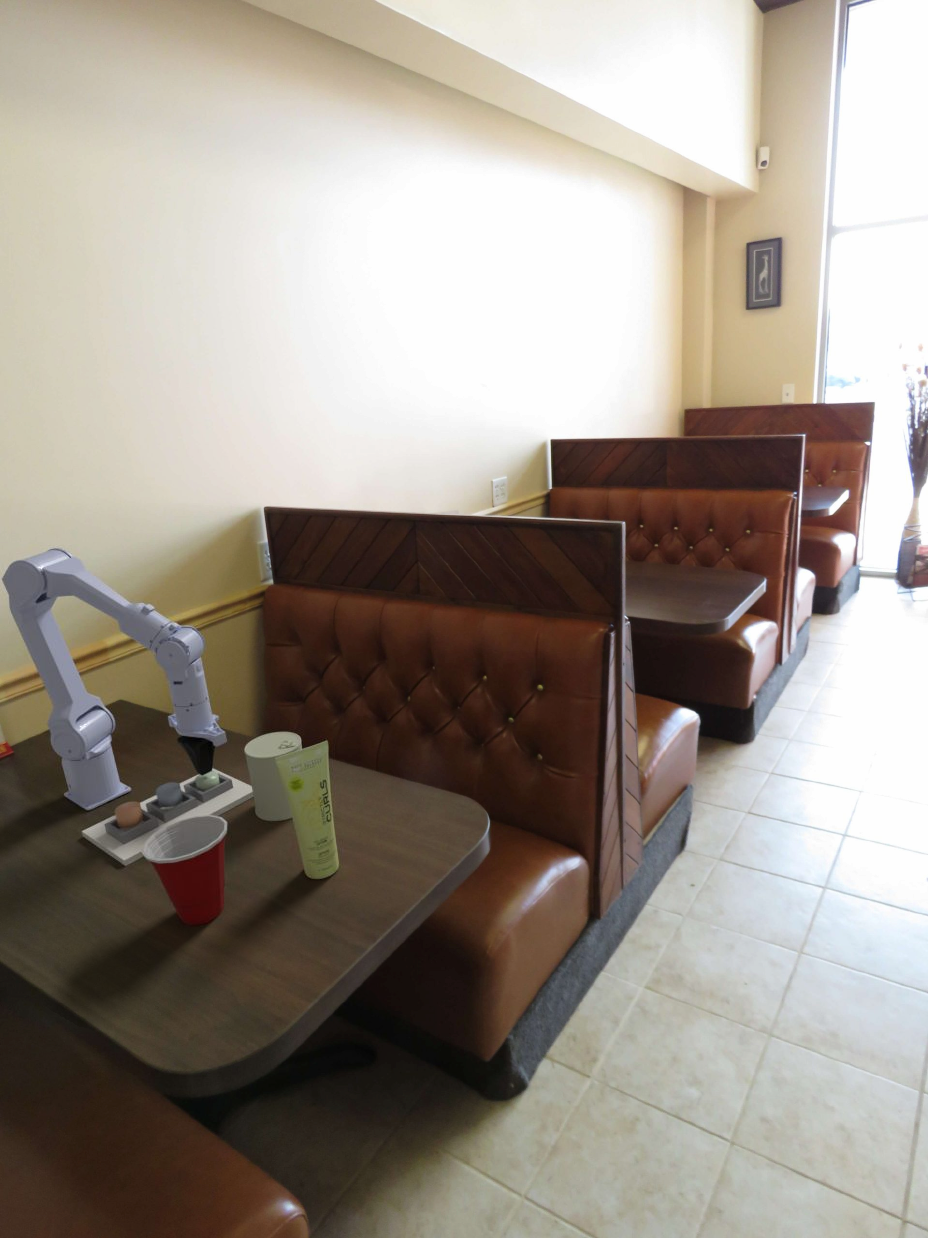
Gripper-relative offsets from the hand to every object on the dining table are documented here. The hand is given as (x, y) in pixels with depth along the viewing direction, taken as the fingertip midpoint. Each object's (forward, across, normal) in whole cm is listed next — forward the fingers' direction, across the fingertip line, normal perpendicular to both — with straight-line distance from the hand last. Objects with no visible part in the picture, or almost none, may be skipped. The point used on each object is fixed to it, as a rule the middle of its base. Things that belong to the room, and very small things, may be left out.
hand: (205, 772), depth 129 cm
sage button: (+3, 0, 0) cm, 3 cm away
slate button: (+2, 0, +7) cm, 7 cm away
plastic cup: (+5, -26, +18) cm, 32 cm away
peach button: (+2, 0, +14) cm, 14 cm away
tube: (+5, -33, +3) cm, 34 cm away
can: (+5, -14, -5) cm, 16 cm away
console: (+5, 0, +7) cm, 8 cm away
